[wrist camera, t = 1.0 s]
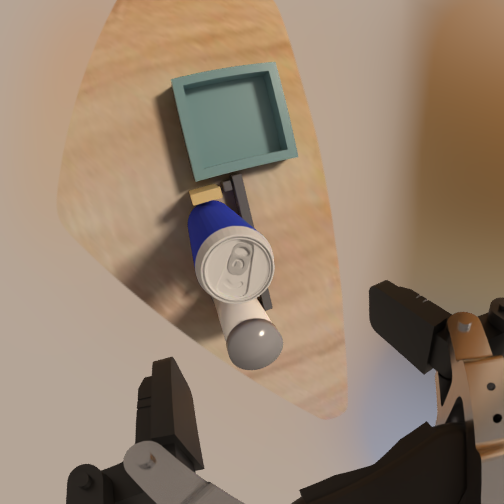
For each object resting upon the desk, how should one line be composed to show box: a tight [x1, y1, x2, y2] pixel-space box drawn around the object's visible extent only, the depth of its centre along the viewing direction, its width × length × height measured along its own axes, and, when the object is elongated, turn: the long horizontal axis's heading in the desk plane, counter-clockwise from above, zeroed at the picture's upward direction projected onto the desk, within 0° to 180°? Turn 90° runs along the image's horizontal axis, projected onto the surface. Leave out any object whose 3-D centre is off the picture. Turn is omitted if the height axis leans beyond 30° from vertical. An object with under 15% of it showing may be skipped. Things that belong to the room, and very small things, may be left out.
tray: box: [171, 62, 298, 182], centre depth 27 cm, size 11×11×3 cm
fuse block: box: [189, 173, 272, 311], centre depth 30 cm, size 17×6×5 cm, turn 14°
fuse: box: [212, 297, 283, 370], centre depth 28 cm, size 5×5×12 cm
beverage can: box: [188, 200, 275, 304], centre depth 24 cm, size 5×5×15 cm
